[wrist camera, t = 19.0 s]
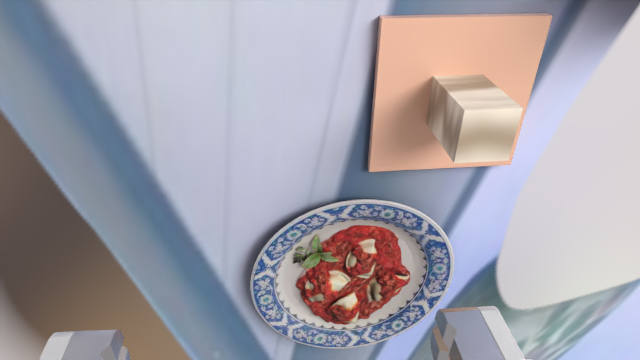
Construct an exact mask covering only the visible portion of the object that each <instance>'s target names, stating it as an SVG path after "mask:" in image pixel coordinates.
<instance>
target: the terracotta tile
mask: <svg viewBox="0 0 640 360" xmlns="http://www.w3.org/2000/svg"><path fill="white" fill-rule="evenodd" d="M552 17H553V15H550V14H548V13H516V14H455V15H394V16H379V28H378V41H377V53H376V66H375V79H374V91H373V104H372V116H371V129H370V142H369V154H368V170H369V172H377V171H396V170H416V169H436V168H455V167H475V166H495V165H511V161H512V158H513V154H514V151H515V147H516V143H517V140H518V136H519V133H520V129H521V126H522V122H523V119H524V115H525V112H526V108H527V105H528V101H529V98H530V94H531V91H532V87H533V84H534V80H535V77H536V73H537V69H538V66H539V62H540V59H541V55H542V52H543V48H544V45H545V41H546V38H547V34H548V31H549V27H550V24H551V20H552ZM481 74H483V75H484V76H485V77H487V78H488V79H489V80H490V81H491V82H493V83H494V84H495V85H496V86H497V87H498V88H500V89H501V90H502V91H503V92H504V93H506V94H507V95H508V96H509V97H510V98H512V99H513V100H514V101H515V102H516V103H518V104H519V105H520V106H521V107H522V108H523V110H522V114H521V117H520V121H519V125H518V128H517V132H516V135H515V139H514V143H513V146H512V150H511V153H510V157H509V160H508V161H488V162H468V163H454V162H453V161H452V160H451V158H450V157H449V155H448V154H447V152H446V151H445V150H444V148H443V147H442V145H441V144H440V143H439V141H438V140H437V138H436V137H435V135H434V134H433V133H432V131H431V130H430V128H429V127H428V125H427V124H426V119H427V113H428V106H429V100H430V93H431V87H432V80H433V76H448V75H481Z"/></svg>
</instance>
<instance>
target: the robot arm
mask: <svg viewBox="0 0 640 360" xmlns="http://www.w3.org/2000/svg"><path fill="white" fill-rule="evenodd" d="M435 320H436V323H437V326H436V327H435V328H433V329H432V333H431V338H430V339H431V351H432V356H433V359H434V360H532V359H525V358H524V356H523V354H522V352H521V350H520V349H519V347H518V345H517V343H516V341H515V339H514V338H513V336H512V334H511V332H510V330H509V328H508V327H507V325H506V323H505V321H504V319H503V317H502V316H501V314H500V312H499V310H498V309H497V308H496V307H495V306H485V307H464V308H451V309H439V310H438V311H437V313H436V317H435ZM123 339H124V337H123V335H122V332H121V330H99V331H72V332H55V333H54V334H53V335H52V336H51V337H50V338H49V339H48V341H47V344H46V345H45V348H44V350H43V352H42V354H41V356H40V358H39V360H130V355H129V351H128V349H126V348H125V347H123V346H122V343H123Z"/></svg>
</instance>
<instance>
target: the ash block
mask: <svg viewBox="0 0 640 360" xmlns="http://www.w3.org/2000/svg"><path fill="white" fill-rule="evenodd" d="M522 110H523V108H522V107H521V106H520V105H519V104H518V103H516V102H515V101H514V100H513V99H512V98H510V97H509V96H508V95H507V94H506V93H504V92H503V91H502V90H501V89H500V88H498V87H497V86H496V85H495V84H494V83H493V82H491V81H490V80H489V79H488V78H487V77H485V76H484V75H483V74H481V75H448V76H433V80H432V87H431V93H430V100H429V106H428V113H427V119H426V124H427V125H428V127H429V128H430V130H431V131H432V133H433V134H434V135H435V137H436V138H437V140H438V141H439V143H440V144H441V145H442V147H443V148H444V150H445V151H446V152H447V154H448V155H449V157H450V158H451V160H452V161H453V162H454V163H468V162H488V161H508V160H509V157H510V153H511V150H512V146H513V143H514V139H515V135H516V132H517V128H518V125H519V121H520V117H521V114H522Z"/></svg>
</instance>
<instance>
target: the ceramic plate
mask: <svg viewBox="0 0 640 360" xmlns="http://www.w3.org/2000/svg"><path fill="white" fill-rule="evenodd" d="M453 272H454V255H453V250H452V247H451V244H450V242H449V240H448V238H447V236H446V234H445V233H444V231H443V230H442V229H441V228H440V227H439V226H438V224H437V223H435V222H434V221H433V220H432V219H431V218H430V217H428V216H427V215H425V214H424V213H422V212H420V211H418V210H416V209H414V208H412V207H409V206H406V205H403V204H399V203H396V202H392V201H384V200H376V199H360V200H349V201H342V202H337V203H333V204H329V205H326V206H323V207H319V208H317V209H314V210H312V211H309V212H307V213H305V214H303V215H301V216H299V217H298V218H296V219H294V220H293V221H291V222H289V223H288V224H287V225H285V226H284V227H283V228H281V229H280V230H279V231H278V232H277V233H276V234H275V235H274V236H273V237H272V238H271V239H270V240H269V241H268V242H267V243H266V245H265V246H264V247H263V249H262V250H261V252H260V254H259V255H258V257H257V259H256V262H255V264H254V267H253V270H252V275H251V281H250V290H251V296H252V300H253V303H254V306H255V308H256V310H257V312H258V313H259V315H260V316H261V318H262V319H263V320H264V321H265V322H266V323H267V324H268V325H269V326H270V327H271V328H272V329H273V330H275V331H276V332H277V333H279V334H281V335H282V336H284V337H286V338H288V339H290V340H293V341H295V342H297V343H301V344H305V345H309V346H314V347H319V348H335V349H343V348H354V347H361V346H366V345H371V344H375V343H378V342H381V341H384V340H387V339H390V338H392V337H394V336H397V335H399V334H401V333H403V332H405V331H406V330H408V329H410V328H411V327H413V326H415V325H416V324H418V323H419V322H420V321H421V320H423V319H424V318H425V317H426V316H427V315H429V314H430V313H431V312H432V311H433V310H434V308H435V307H436V306H437V305H438V304H439V303H440V301H441V300H442V299H443V297H444V295H445V294H446V292H447V290H448V288H449V286H450V283H451V280H452V276H453Z"/></svg>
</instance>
